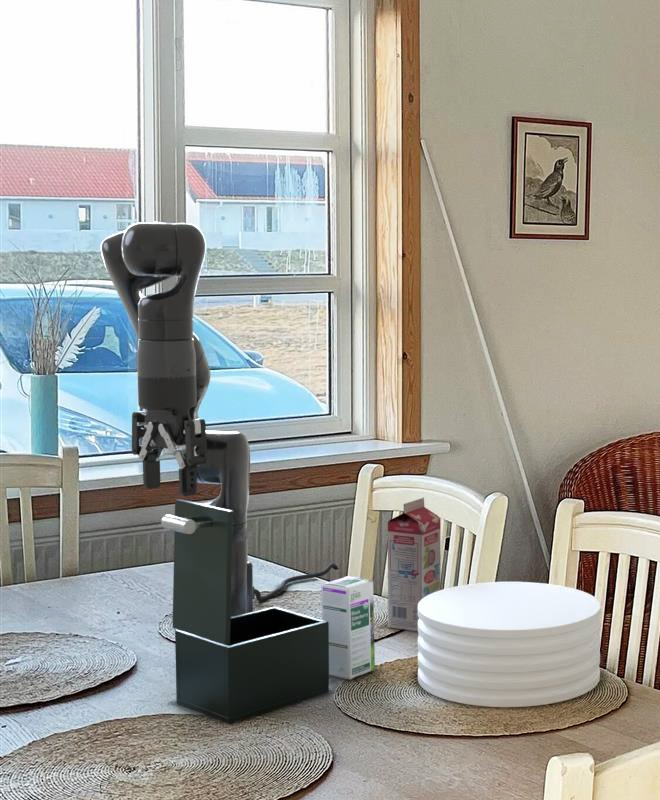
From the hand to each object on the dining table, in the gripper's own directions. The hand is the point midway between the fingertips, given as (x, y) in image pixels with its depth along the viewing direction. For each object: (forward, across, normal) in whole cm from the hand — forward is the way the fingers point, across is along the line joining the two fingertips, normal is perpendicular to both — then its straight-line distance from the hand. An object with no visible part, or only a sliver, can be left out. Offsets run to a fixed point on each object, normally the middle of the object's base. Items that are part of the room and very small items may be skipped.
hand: (169, 491), depth 184 cm
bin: (+32, 0, -13) cm, 35 cm away
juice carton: (+32, +11, -55) cm, 65 cm away
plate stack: (+33, -21, -45) cm, 60 cm away
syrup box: (+32, -1, -30) cm, 44 cm away
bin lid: (+12, 0, -5) cm, 13 cm away
